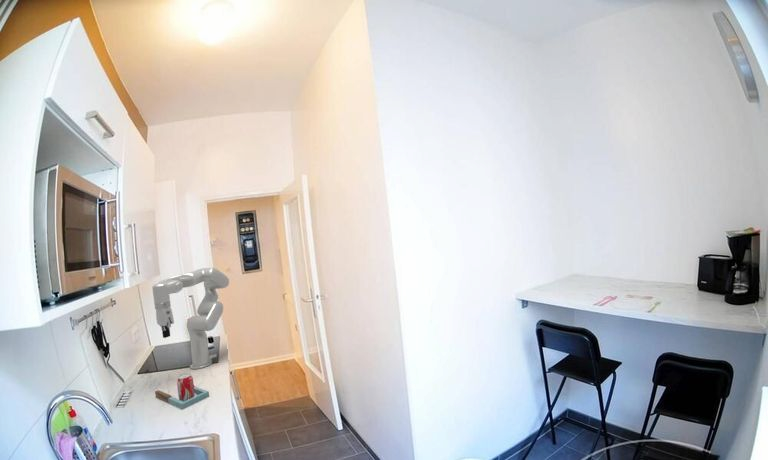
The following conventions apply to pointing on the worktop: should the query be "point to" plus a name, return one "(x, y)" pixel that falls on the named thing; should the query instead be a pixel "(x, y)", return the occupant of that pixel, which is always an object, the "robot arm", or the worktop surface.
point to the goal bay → (178, 403)
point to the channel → (162, 395)
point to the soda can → (185, 387)
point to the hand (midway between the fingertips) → (166, 336)
